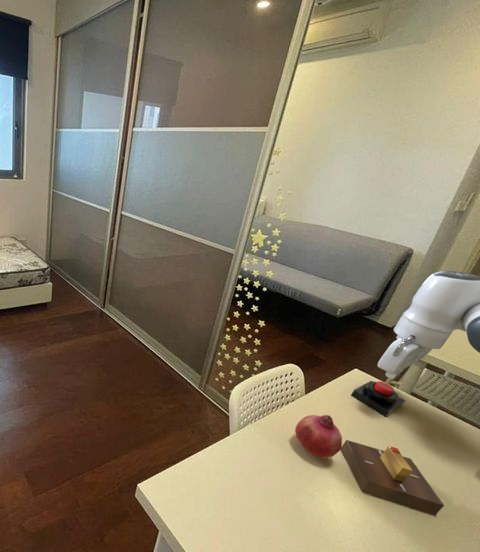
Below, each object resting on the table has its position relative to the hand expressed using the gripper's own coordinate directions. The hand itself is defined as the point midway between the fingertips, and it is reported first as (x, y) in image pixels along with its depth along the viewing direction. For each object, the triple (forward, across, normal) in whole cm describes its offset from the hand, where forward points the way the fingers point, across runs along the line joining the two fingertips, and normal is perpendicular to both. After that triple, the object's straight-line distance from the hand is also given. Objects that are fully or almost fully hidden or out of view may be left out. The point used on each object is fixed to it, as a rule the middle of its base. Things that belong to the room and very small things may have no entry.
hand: (390, 376), depth 84 cm
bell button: (+5, 0, 0) cm, 5 cm away
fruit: (+9, -35, -1) cm, 36 cm away
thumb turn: (+6, -27, -12) cm, 30 cm away
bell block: (+9, 0, 0) cm, 9 cm away
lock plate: (+9, -27, -12) cm, 31 cm away
